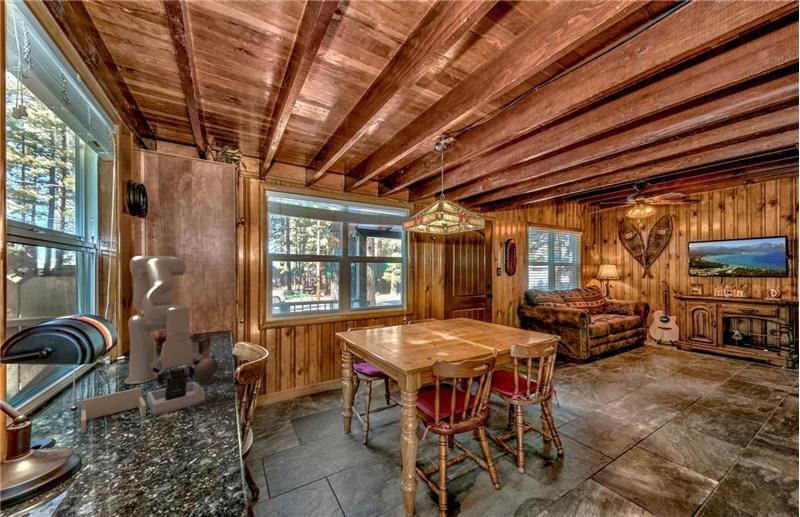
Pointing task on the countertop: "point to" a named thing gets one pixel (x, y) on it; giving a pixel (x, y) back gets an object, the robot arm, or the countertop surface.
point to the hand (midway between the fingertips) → (176, 380)
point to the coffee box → (200, 349)
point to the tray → (161, 406)
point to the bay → (111, 405)
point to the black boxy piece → (176, 384)
